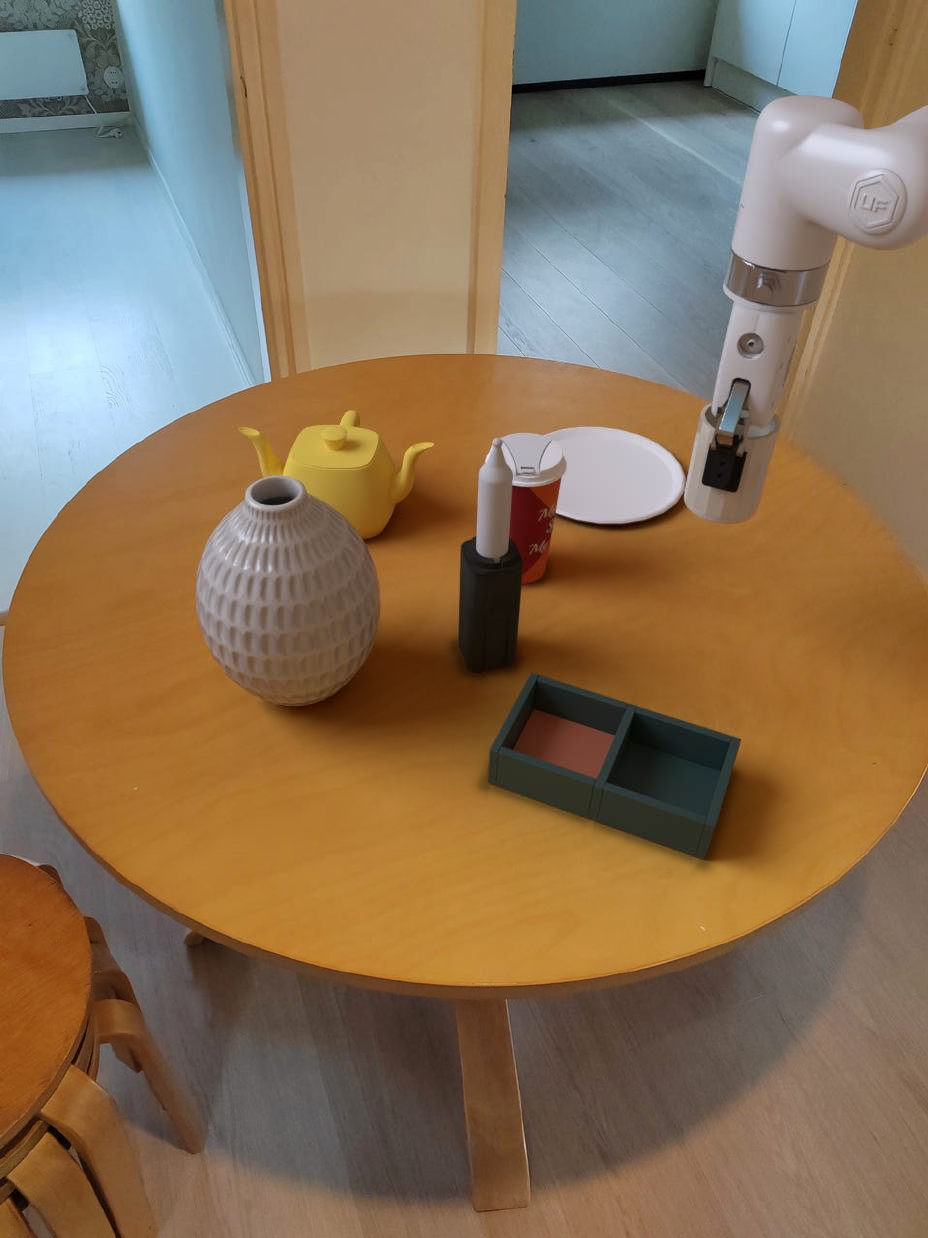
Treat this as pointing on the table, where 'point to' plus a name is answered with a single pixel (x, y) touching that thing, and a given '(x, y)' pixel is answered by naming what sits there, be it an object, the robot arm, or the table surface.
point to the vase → (287, 595)
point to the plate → (615, 476)
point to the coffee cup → (533, 496)
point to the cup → (748, 496)
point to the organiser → (614, 763)
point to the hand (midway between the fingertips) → (729, 464)
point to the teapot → (345, 470)
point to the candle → (490, 574)
